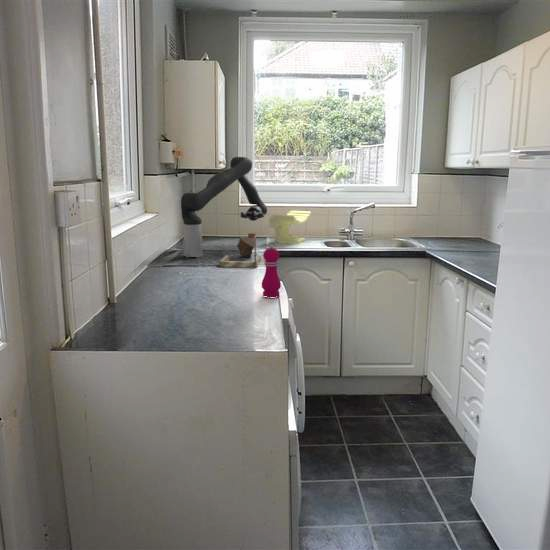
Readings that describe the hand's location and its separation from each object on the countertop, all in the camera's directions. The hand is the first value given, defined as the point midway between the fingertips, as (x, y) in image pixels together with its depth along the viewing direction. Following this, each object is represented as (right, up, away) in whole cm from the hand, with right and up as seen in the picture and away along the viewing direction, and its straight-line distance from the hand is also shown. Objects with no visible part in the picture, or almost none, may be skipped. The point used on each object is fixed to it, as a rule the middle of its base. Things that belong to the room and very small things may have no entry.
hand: (249, 216), depth 278 cm
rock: (-1, -22, -5) cm, 23 cm away
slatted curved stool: (+23, -11, +44) cm, 51 cm away
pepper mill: (+12, -40, -82) cm, 92 cm away
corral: (-3, -26, -23) cm, 35 cm away
